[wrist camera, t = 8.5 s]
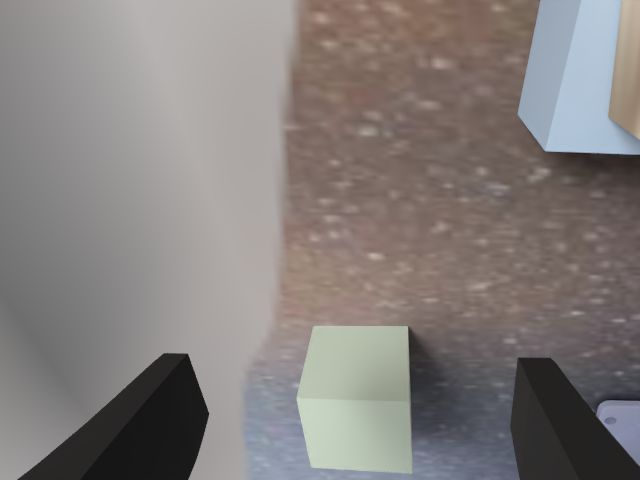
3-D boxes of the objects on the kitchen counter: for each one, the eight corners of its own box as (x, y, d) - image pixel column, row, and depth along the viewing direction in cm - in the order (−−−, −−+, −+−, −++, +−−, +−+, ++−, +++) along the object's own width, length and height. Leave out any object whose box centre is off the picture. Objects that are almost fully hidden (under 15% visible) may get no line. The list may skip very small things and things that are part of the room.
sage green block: (410, 392, 24) (412, 473, 20) (324, 390, 25) (311, 467, 21) (407, 324, 22) (409, 401, 18) (313, 324, 23) (296, 398, 19)
